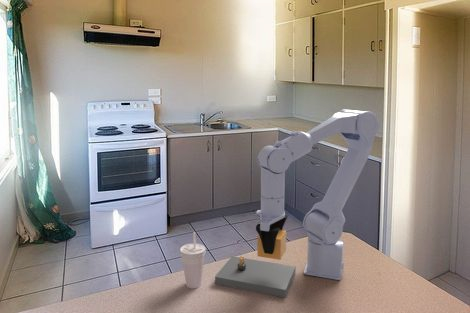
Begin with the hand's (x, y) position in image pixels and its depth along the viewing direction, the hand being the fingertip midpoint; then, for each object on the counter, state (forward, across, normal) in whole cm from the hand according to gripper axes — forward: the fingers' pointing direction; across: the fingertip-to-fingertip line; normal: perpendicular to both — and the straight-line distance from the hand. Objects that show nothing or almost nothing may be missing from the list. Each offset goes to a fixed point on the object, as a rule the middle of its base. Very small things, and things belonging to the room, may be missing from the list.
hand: (272, 247), depth 92 cm
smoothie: (+9, +8, -18) cm, 22 cm away
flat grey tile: (+9, 0, -4) cm, 10 cm away
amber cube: (+1, 0, 0) cm, 1 cm away
